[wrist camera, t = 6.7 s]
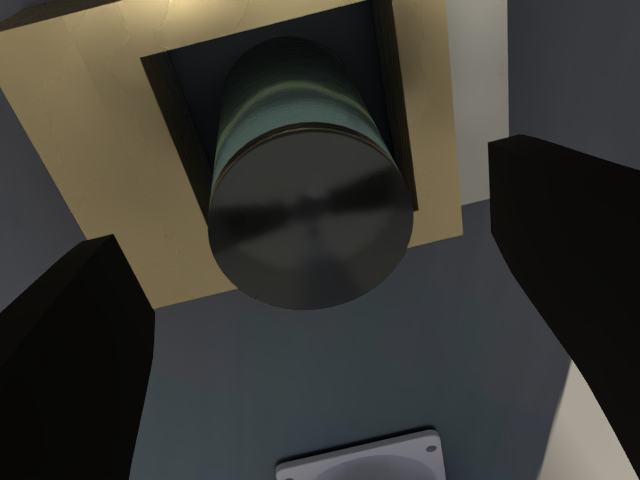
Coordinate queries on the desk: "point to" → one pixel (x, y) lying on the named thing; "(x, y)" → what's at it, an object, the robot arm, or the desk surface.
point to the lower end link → (467, 87)
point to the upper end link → (166, 129)
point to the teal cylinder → (303, 182)
